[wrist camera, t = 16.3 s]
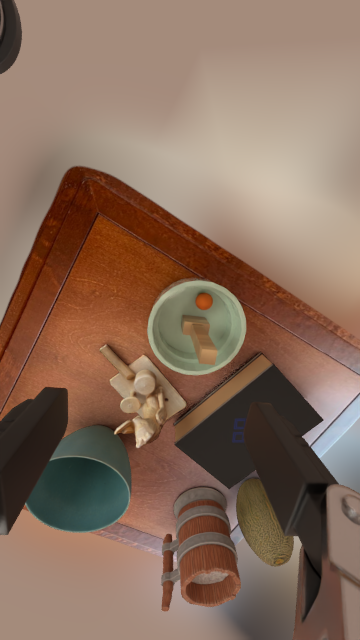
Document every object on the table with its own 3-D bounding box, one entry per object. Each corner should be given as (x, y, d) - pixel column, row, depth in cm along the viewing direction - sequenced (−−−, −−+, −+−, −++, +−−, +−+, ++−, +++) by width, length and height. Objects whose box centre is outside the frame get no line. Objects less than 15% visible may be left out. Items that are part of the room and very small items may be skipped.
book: (303, 399, 49) (324, 420, 42) (221, 461, 52) (229, 489, 46) (259, 350, 45) (274, 364, 38) (173, 420, 48) (174, 445, 42)
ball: (192, 298, 41) (203, 286, 39) (204, 308, 41) (216, 296, 40) (191, 306, 38) (203, 293, 36) (205, 316, 39) (217, 304, 37)
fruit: (221, 492, 55) (240, 574, 41) (244, 461, 53) (273, 536, 38) (256, 504, 57) (286, 587, 43) (280, 476, 55) (320, 552, 40)
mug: (236, 506, 57) (259, 590, 42) (179, 540, 59) (183, 630, 45) (206, 476, 53) (220, 556, 39) (147, 513, 56) (139, 602, 41)
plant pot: (114, 481, 52) (98, 545, 40) (44, 451, 48) (4, 512, 37) (154, 429, 49) (149, 482, 37) (81, 392, 45) (50, 439, 33)
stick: (182, 314, 41) (191, 346, 25) (205, 317, 41) (228, 350, 26) (180, 326, 41) (188, 364, 26) (203, 328, 42) (224, 367, 27)
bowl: (155, 271, 39) (153, 274, 32) (241, 283, 41) (256, 288, 34) (146, 353, 43) (143, 370, 37) (224, 361, 45) (234, 379, 38)
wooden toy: (188, 405, 47) (196, 459, 34) (151, 428, 48) (145, 489, 35) (127, 328, 42) (109, 359, 29) (86, 356, 43) (51, 398, 30)
